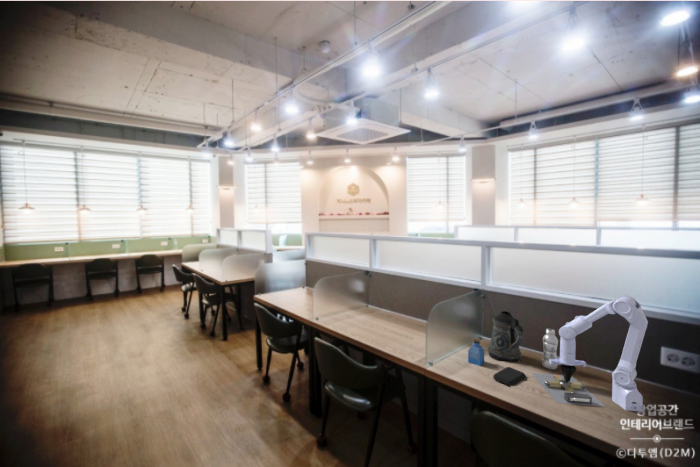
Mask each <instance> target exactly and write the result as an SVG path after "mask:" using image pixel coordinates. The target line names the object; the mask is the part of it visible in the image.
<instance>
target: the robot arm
mask: <svg viewBox="0 0 700 467" xmlns="http://www.w3.org/2000/svg"><path fill="white" fill-rule="evenodd" d="M608 314H609V315H616V314H618V315H619V316H621V317H622V318H624V319H625V320H626V321H627V322H628V323H629V326H628V327H629V328H628V332H627V335H626V338H625V342H624V346H623V347H622V348H623V349H622V351H621V352H622V354H621V356H620V359H619V361H618V364H617V365H616V368H615V369H614V370H613V371H612V372H611V377H612V383H611V388H612V389H611V400H612V401H613V403H615V404H616V405H618V406H620V407H621V409H623V410H624V411H631V412H643V406H644V404H643V403H644V402H643V401H644V397H643V395H642V394H641V392H639V389H638V388H637V383H636V381H635V378H637V375H638V372H637V370H636V366H637V360H638V358H639V355H640V352H641V347H642V345H643V341H644V337H645V334H646V331H647V328H648V324H649V320H648V319H647V317H646V315H645V313H644V311H643V308H642V305H641V303H640V302H638V301H637V300H636V299H635V297H632V296H629V295H621V296H619V297H618V298H617V299H612V300H610V301H608V302H606V303H603V305H601V306H600V307H598V308H597V309H596V310H594V311H591V312H590V313H589V314H588V315H576V316H575V317H574V319H573V320H571V321H570V322H569V321H567V322H566V323H565V324H564V325H563V326H561V327H560V328H559V329H558V334H559V337H560V339H559V342H560V343H559V358H557V359H549V363H550V364H551V365H553V364H556V365H558V366H559V368H560V370H561V371H562V375H563V376H564V380H566V381H568V382H570V379H571V377H573V375H574V373H575V372H576V371H577V367H582V368H583V367H584V368H586V367H587V362H586V361H584V360H577V359H576V349H577V348H576V347H577V346H576V345H577V343H576V336H578V335H580V334H582V333H584V332H585V331H587V330H589V329H591V328H592V327H593V322H595V321H597V320H599V319H602V318H603V317H605V316H607V315H608Z"/></svg>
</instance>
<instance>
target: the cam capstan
mask: <svg viewBox="0 0 700 467" xmlns="http://www.w3.org/2000/svg"><path fill="white" fill-rule="evenodd" d="M559 375H560V374H556V373H555V374H554V378H555V380H556V381H545V385H546V386H548V387H556V388H561V389H564V390H566V391H567V392H568V393H576V392H575V391H574V390H573V389H585V388H586V385H585V384H584V383H582V382H579V383H573V382H568V381H565V380H563V379H562V378H561V377H560V376H559Z"/></svg>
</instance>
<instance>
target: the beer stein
mask: <svg viewBox="0 0 700 467" xmlns="http://www.w3.org/2000/svg"><path fill="white" fill-rule="evenodd" d="M492 323H493V327H492V333H491V338H490V342H489V344H488V346H487V351H488V355H489V357H490V358H491V359H492V360H495V361H498V362H505V363H506V362H508V363H519V362H518V361H521V359H522V358H521V356H522V352H521V348H520V346H521V345H522V343H523V342H524V340H525V336H526V335H525V331H524V329H523V327H522V326H521V325H520V321H519V319H518V318H515V317H514V316H513V315H512V314H511V312H510V311H507V310H504V311H501V312H499V314H497V315H495V316H493V318H492Z"/></svg>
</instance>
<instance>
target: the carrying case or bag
mask: <svg viewBox="0 0 700 467" xmlns="http://www.w3.org/2000/svg"><path fill="white" fill-rule="evenodd" d="M492 377H493V379H494V380H495V381H496V382H497V383H498V382H499V383H501V384H503V385H506V386H507V387H511V386H512V387H513V386H515V385H517V384H518V383H520V382H522V381H523V380H524V381H526V380H527V375H526V374H525V373H524V372H523V371H521V370H518V369H515V368H513V367H511V366H507V367H505V368H503V369H501V370H499V371H498V372H496V373H494V374H493V375H492Z"/></svg>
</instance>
